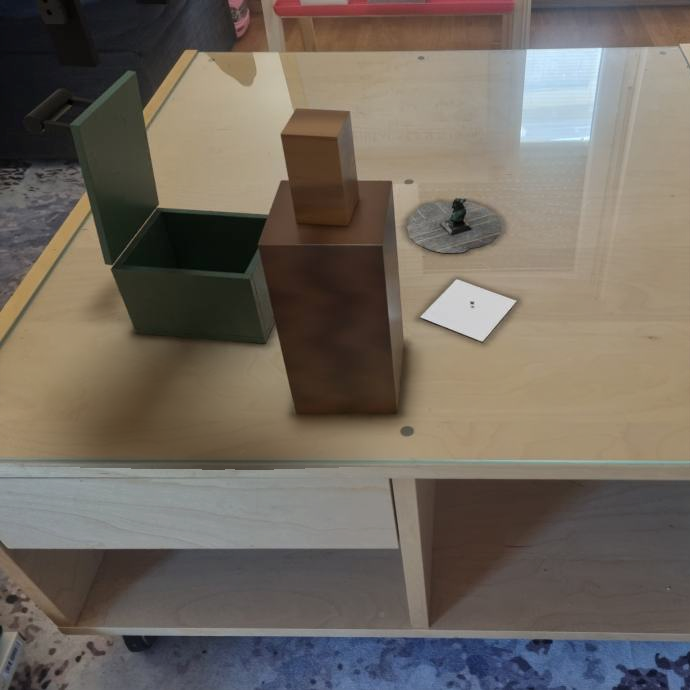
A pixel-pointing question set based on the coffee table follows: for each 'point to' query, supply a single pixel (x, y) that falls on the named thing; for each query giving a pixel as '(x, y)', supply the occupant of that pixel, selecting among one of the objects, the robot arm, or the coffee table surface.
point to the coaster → (469, 310)
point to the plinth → (337, 303)
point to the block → (321, 166)
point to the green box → (197, 276)
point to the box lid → (108, 158)
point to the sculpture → (453, 226)
